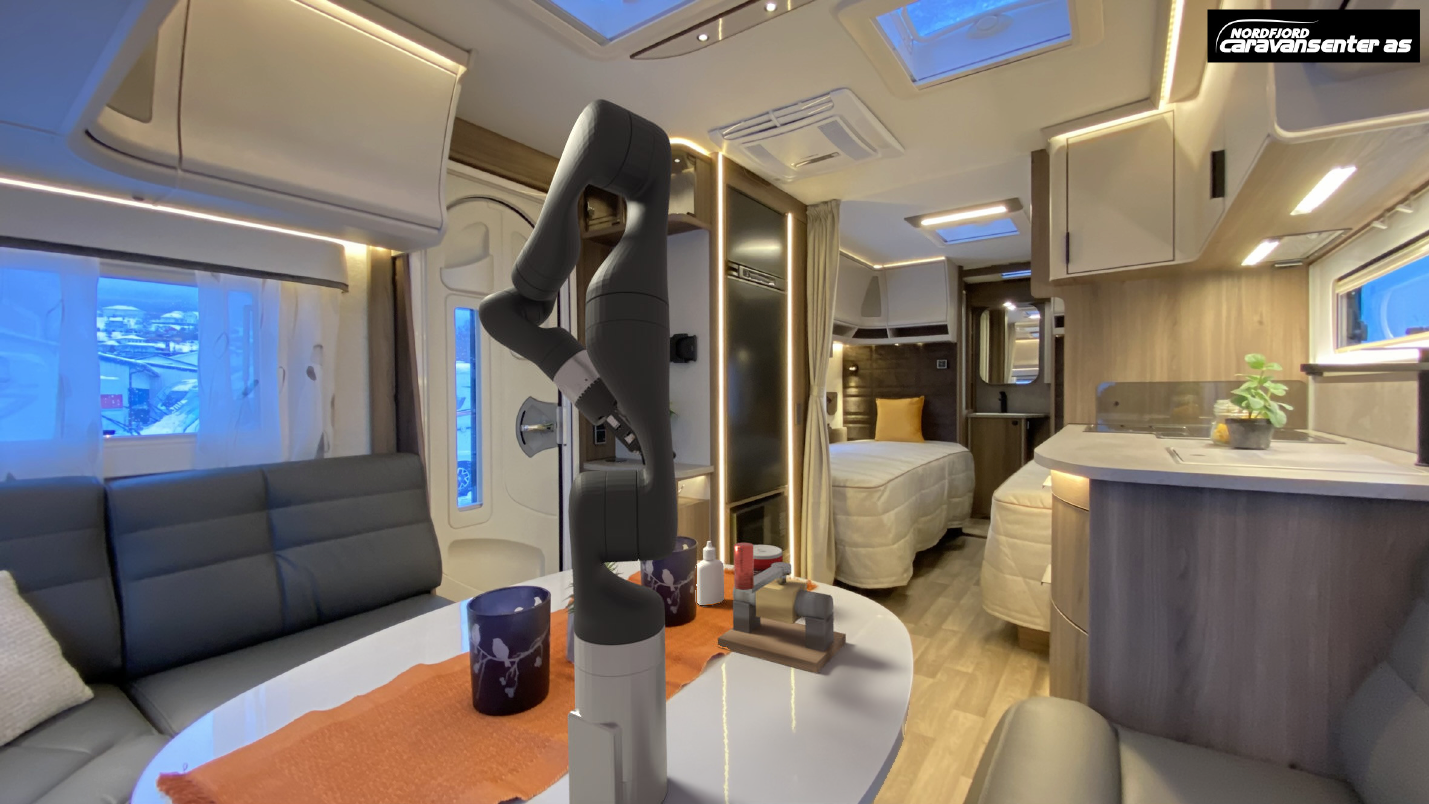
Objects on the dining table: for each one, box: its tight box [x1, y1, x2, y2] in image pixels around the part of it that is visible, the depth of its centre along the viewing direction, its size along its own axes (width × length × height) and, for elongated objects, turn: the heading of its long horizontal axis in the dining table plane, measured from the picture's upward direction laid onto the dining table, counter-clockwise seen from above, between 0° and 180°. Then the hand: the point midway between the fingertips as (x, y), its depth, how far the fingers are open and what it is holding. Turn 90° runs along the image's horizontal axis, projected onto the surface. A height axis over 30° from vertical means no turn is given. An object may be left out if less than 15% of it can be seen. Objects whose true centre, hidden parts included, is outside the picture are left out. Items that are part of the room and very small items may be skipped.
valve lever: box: [733, 542, 792, 594], centre depth 90 cm, size 15×3×9 cm, turn 147°
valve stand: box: [717, 577, 847, 674], centre depth 95 cm, size 12×17×10 cm
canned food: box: [753, 544, 784, 576], centre depth 112 cm, size 8×8×11 cm
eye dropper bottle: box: [696, 540, 725, 606], centre depth 115 cm, size 4×6×12 cm
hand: (668, 463), depth 88 cm, fingers open, 8 cm apart
